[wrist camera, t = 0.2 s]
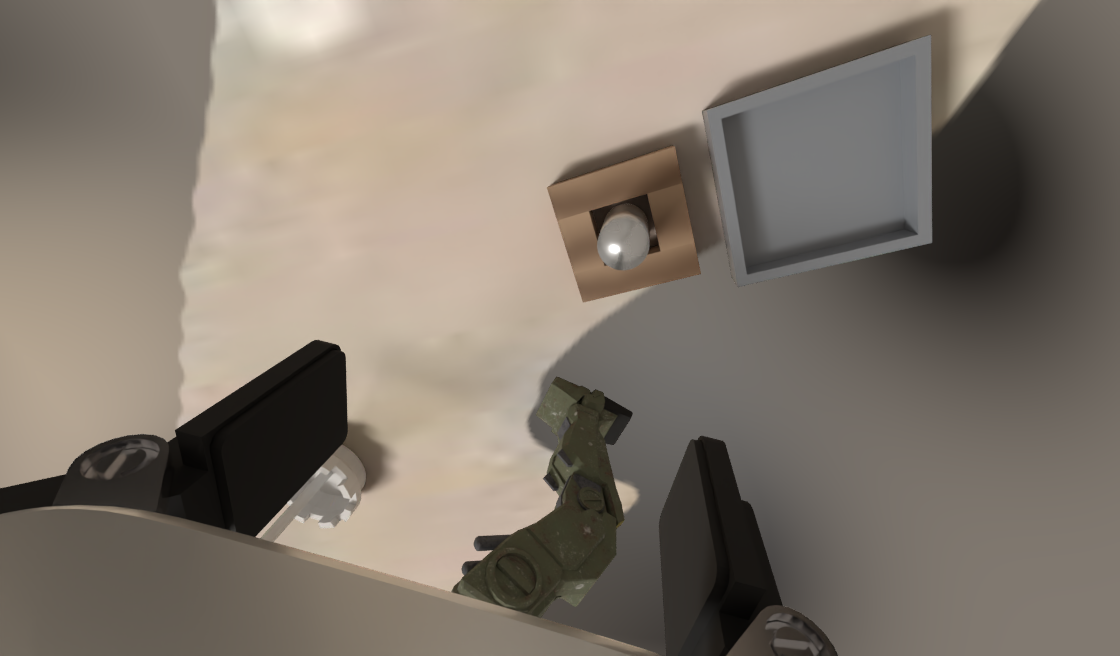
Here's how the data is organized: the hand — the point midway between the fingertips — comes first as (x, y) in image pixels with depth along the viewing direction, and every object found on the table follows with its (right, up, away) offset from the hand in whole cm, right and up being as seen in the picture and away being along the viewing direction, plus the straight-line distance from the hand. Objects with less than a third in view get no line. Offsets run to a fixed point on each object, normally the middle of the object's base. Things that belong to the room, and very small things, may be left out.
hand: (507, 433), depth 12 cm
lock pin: (+8, +13, +33) cm, 36 cm away
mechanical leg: (+4, -7, +43) cm, 44 cm away
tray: (+24, +17, +28) cm, 41 cm away
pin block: (+8, +13, +33) cm, 36 cm away
